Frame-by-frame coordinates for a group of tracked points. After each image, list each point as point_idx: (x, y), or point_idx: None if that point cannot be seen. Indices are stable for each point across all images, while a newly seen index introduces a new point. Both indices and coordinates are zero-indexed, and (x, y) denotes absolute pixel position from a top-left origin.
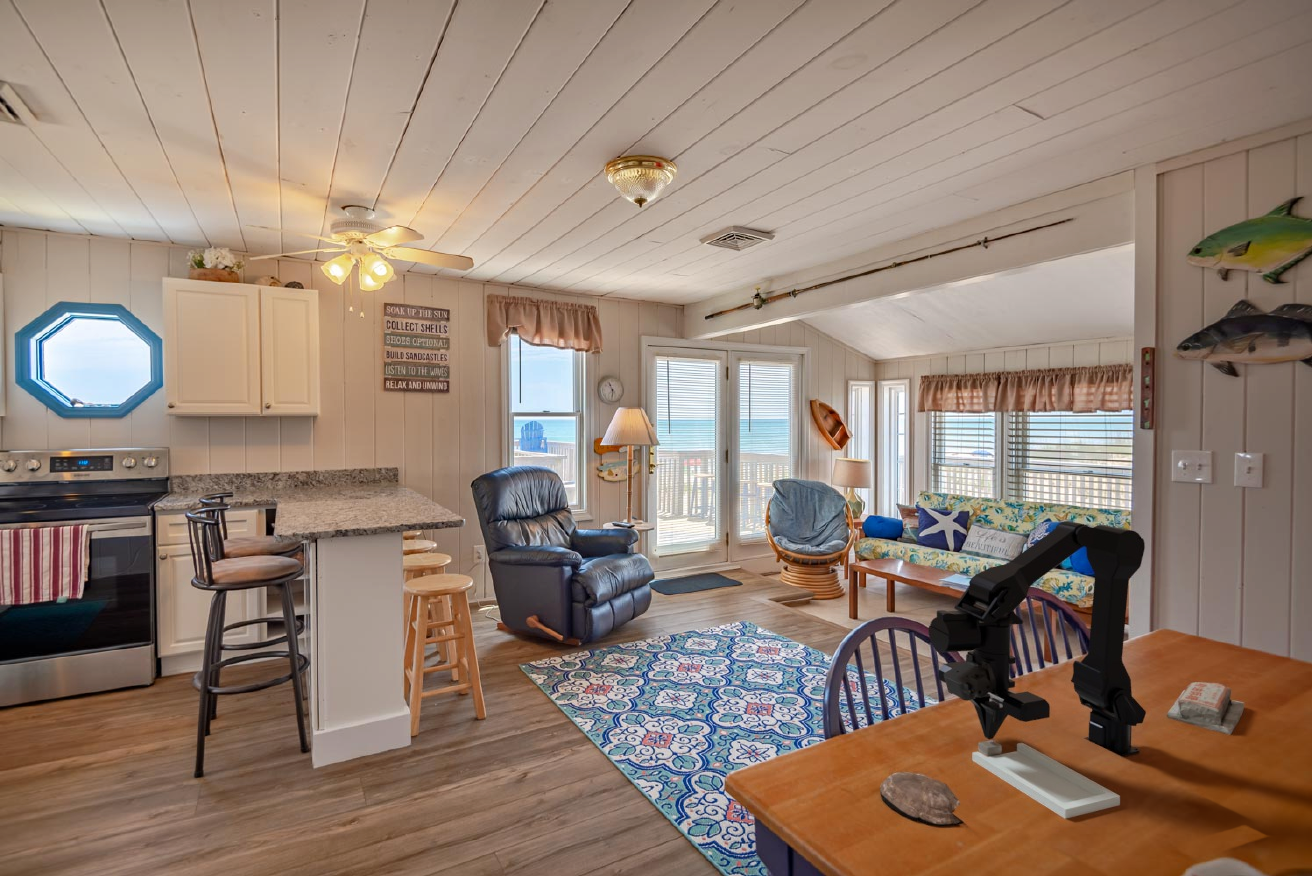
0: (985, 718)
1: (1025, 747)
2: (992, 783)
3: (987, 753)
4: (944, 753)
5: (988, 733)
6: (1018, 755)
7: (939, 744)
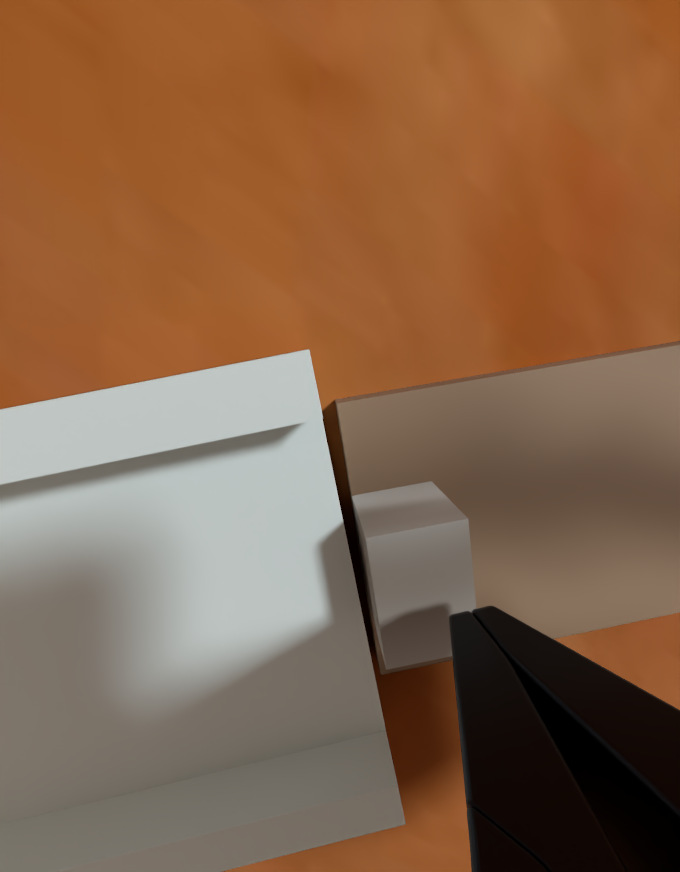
0: (643, 819)
1: (337, 809)
2: (116, 375)
3: (360, 518)
4: (531, 282)
5: (463, 652)
6: (331, 711)
7: (643, 325)
